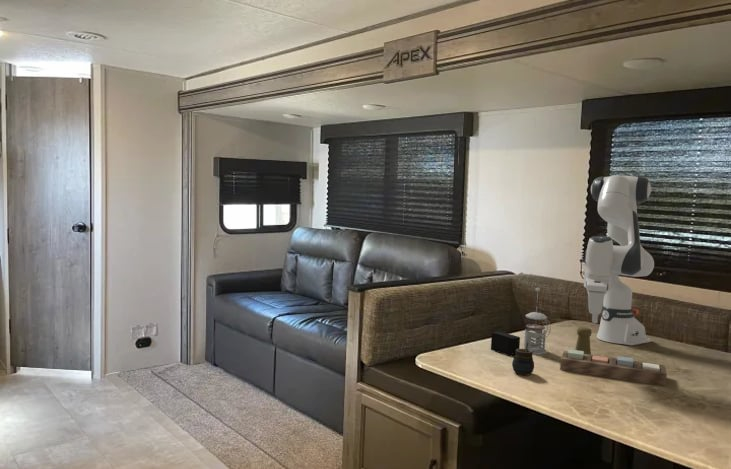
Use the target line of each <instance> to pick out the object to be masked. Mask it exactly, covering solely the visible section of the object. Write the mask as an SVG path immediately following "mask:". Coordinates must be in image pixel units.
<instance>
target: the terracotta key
mask: <svg viewBox="0 0 731 469" xmlns="http://www.w3.org/2000/svg"><path fill="white" fill-rule="evenodd" d="M592 355H593V357H592V361H594V362H601V363H608V357H609V356H603V357H601V355H596V356H594V355H595V354H592Z"/></svg>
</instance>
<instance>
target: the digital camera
mask: <svg viewBox="0 0 731 469" xmlns="http://www.w3.org/2000/svg"><path fill="white" fill-rule="evenodd" d="M520 340H521V337H520V336H517V335H514V334H510V333H508V332H506V331H505V332H503V331H500V330H497V331H493V332H491V340H490V342H491V343H490V350H491V351H493V352H496V353H499V354H503V355H506V356H510V357H515V354H516V353H515V352H516V349H520V344H521V343H520V342H521V341H520Z"/></svg>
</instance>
